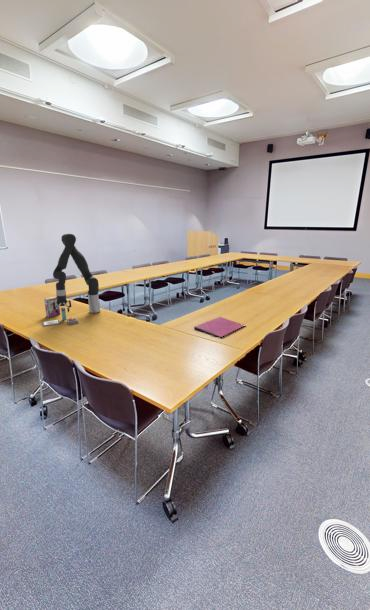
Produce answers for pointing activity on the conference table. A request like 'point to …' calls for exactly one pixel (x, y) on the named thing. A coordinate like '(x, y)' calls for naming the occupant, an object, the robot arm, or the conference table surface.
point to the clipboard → (51, 323)
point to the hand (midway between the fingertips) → (62, 312)
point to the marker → (63, 313)
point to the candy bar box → (51, 307)
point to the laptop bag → (218, 327)
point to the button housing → (72, 321)
